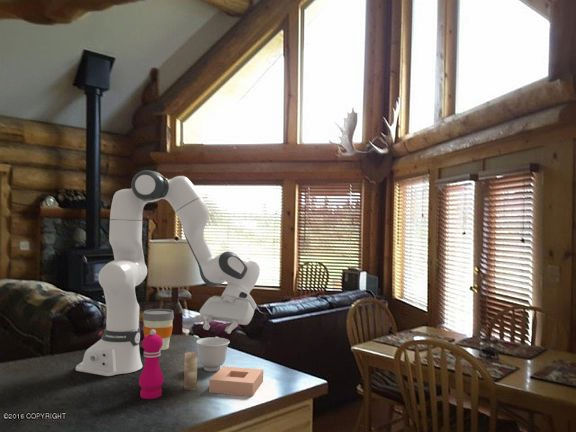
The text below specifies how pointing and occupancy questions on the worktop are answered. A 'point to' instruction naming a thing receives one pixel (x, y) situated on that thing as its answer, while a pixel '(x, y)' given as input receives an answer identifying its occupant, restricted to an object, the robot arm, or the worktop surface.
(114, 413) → the worktop surface
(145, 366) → the pepper mill
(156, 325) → the reusable coffee cup
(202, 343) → the teacup
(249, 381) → the socket block
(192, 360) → the maple pin
